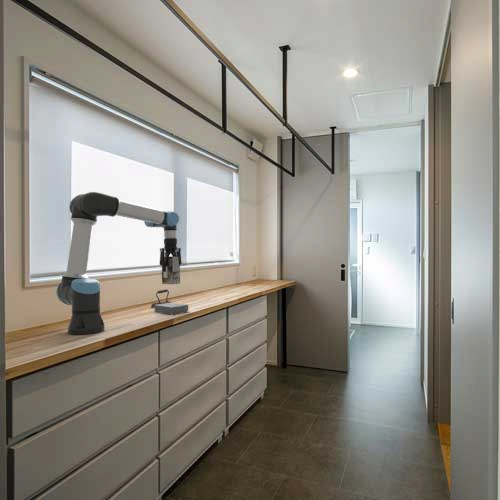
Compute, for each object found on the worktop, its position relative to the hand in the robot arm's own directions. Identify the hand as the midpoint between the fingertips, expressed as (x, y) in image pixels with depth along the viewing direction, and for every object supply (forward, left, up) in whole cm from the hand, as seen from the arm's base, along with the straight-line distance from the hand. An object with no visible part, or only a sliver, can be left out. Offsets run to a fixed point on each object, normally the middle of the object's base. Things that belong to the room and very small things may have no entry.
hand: (170, 277), depth 216 cm
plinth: (0, 0, -20) cm, 20 cm away
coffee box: (0, 0, -4) cm, 4 cm away
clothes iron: (+10, +21, -21) cm, 31 cm away
